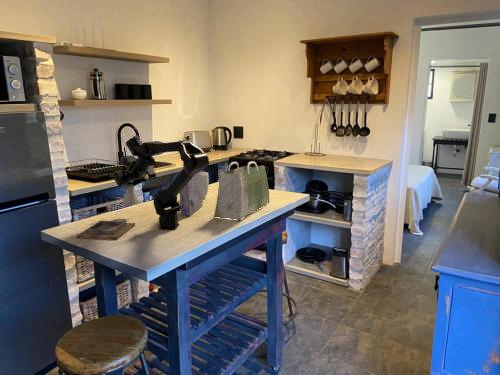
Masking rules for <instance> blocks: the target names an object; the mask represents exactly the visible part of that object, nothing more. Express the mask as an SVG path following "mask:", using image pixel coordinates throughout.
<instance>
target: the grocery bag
mask: <svg viewBox="0 0 500 375" xmlns="http://www.w3.org/2000/svg"><path fill="white" fill-rule="evenodd" d="M234 164H235V165H237V168H235V169H231V167H232V165H234ZM251 164H254V165H255V166H254V167H253V166H250V165H251ZM227 169H228V170H225V171H222V172H220V173H219V175H218V190H217V196H216V202H215V209H214V214H213V215H214V216H213V218H214V217H220V218H230V219H237V220H241V219H242V218H243V217H245V216H246V215H248V214H250V213H252V212H254V211H256V210H257V209H259V208H261V207H263V206H265V205H266V204H267V203H270V188H269V184H268V182H269V181H268V177H267V176H268V175H267V172H266V168H265V165H259V166H258V165H257V162H256V161H255V160H254V161H253V160H252V161H248V163H247V165H245V166H241V167H239V162H237V161H232V162H230V163H229V166H228V168H227ZM267 205H268V204H267ZM267 205H266V206H267ZM266 206H265V207H266ZM256 212H257V211H256ZM254 213H255V212H254ZM252 214H253V213H252ZM250 215H251V214H250ZM248 216H249V215H248ZM246 217H247V216H246ZM246 217H245V218H246ZM243 219H244V218H243ZM243 219H242V220H243ZM242 220H241V221H242Z"/></svg>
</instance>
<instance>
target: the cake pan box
mask: <svg viewBox="0 0 500 375" xmlns="http://www.w3.org/2000/svg"><path fill="white" fill-rule="evenodd" d="M201 172H202V171H200V172H199V173H197V174H195V175H194V176H193V177H192V179H191V180H190V181H189V182H188V183H187V184H186V186H185V187H184V188H183V189H182V190H181V192H180V193H179V194H178V195H179V205H180V206H181V209H180V216H184V217H185V216H186V217H191V216H192V215H193V214H194V213H196V212H197V211H199V209H201V207H203V206H204V204H203V202H204V200H203V199H202V184H201Z"/></svg>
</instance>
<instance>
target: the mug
mask: <svg viewBox="0 0 500 375" xmlns="http://www.w3.org/2000/svg"><path fill="white" fill-rule="evenodd" d="M201 184H202V200H203V199H205V198H206V196H207V195H208V193H209V186H210V185H209V172H206V171H201Z"/></svg>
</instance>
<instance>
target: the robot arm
mask: <svg viewBox="0 0 500 375" xmlns="http://www.w3.org/2000/svg"><path fill="white" fill-rule="evenodd" d="M125 146H126V147H127V149H128V150H129V152H130V154H132V155H124V156H122V157H121V158H120V159H119V164H121V165H122V166H125V167H126V170H127V172H124V171H123V170H118V171H113V173H112V175H111V177H112V178H113V180H114V182H115V183H116V184H117V186H119V187H123V189H125V190H126V188H128V187H129V186H131V185H132V184H133V187H134V188H135V187H136V186H138V185H141V184H143V183H145V182H147V178H146V176H148V180H154V179H156V177H157V172H156V171H155V169H154V168H153V167H152V166H156V165H157V162H156V161H155V158H154V157H155V156H159V155H163V154H164V153H173V152H178V153H179V156H180V160H181V161H182V162H183V165H182V170H180V172H179V173H178V175H177V176H176V177H175V178H174V180H173V181H171V183H170V184H169V186H168V187H166V188H162V189H159V190H158V191H157V192H156V194H154V195H153V196H154V197H153V200H152V202H153V203H152V204H153V208H154V209H155V214H156V215H158V225H159V230H169V231H171V230H172V231H174V230H176V229H177V228H178V227H179V226H180V223H179V221H178V220H179V219H178V218H179V217H178V212H181V206H180V202H179V201H178V195H179V193H180V192H181V190H182V189H183V188H184V187H185V186H186V184H187V183H188V182H189V181H190V180H191V179H192V177H193V176H194V175H195V174H197V173H199V172H200V171H201V172H203V171H204V170H205V169H207V167H208V166H209V165H210V161H209V160H210V159H209V156H208V154H206V153H205V152H204V151H203V149H201V148H200V147H198V146H196V145H195V144H193V143H192V142H191V141H190V140H188V139H183V140H178V141H171V142H170V141H169V142H163V141H159V140H155V141H146V142H145V141H144V142H143V141H142V140H141V137H139V135H133V136H132V137H131V138H129V139H128V140H127V141H125ZM132 181H133V183H132Z"/></svg>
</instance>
